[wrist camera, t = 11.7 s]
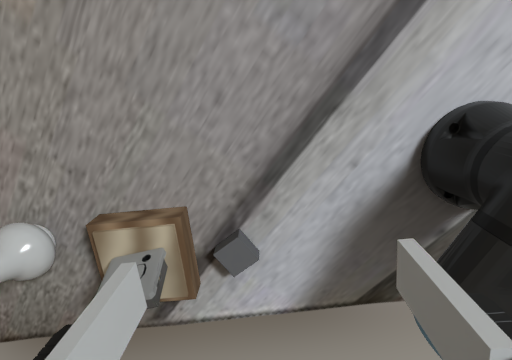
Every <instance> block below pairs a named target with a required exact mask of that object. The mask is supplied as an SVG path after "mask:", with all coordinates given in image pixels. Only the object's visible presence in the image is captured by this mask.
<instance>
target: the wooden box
mask: <svg viewBox="0 0 512 360" xmlns="http://www.w3.org/2000/svg"><path fill="white" fill-rule="evenodd" d="M86 228H87V231H88V234H89V238H90V241H91V245H92V248H93V252H94V255H95V259H96V262H97V266H98V269H99V273H100V276H101V280H103V278H104V276H105V274H106V271H107V269H108V267H109V265H110V262H111V260H112V259H114V258H116V257H120V256H124V255H129V254H134V253H138V252H143V251H148V250H152V249H157V248H164V250H165V251H166V256H165V258H164V259H165V262H166V264H167V266H168V268H167V272H166V276H165V281H164V285H163V289H162V293H161V297H160V301H159V302H163V301H176V300H190V299H196V297H197V293H198V290H199V287H200V284H201V283H200V277H199V272H198V266H197V261H196V255H195V250H194V244H193V239H192V233H191V228H190V222H189V217H188V211H187V207H176V208H165V209H154V210H142V211H131V212H120V213H109V214H99V215H98V216H97V217H96V218H94V219H93V220H92V221H91V222H89V223H88V224H87V225H86ZM160 275H161V273H160ZM159 280H160V277H159Z"/></svg>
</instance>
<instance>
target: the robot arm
mask: <svg viewBox="0 0 512 360" xmlns="http://www.w3.org/2000/svg"><path fill="white" fill-rule="evenodd" d="M421 168H422V173H423V177H424V179H425V181H426V183H427V185H428V186H429V188H430V189H431V190H432V191H433V192H434V193H435V194H436V195H438V196H439V197H441V198H442V199H444V200H445V201H447V202H449V203H451V204H453V205H456V206H459V207H463V208H468V209H476V210H478V211H477V212H476V214H475V215H474V216H473V217H472V218H471V219H470V221H469V222H468V223H467V224H466V226H465V227H464V228H463V229H462V231H461V232H460V233H459V234H458V236H457V237H456V238H455V240H454V241H453V242H452V243H451V245H450V246H449V247H448V248H447V250H446V251H445V252H444V253H443V254H442V256H441V257H440V258H439V259H438V261H437V262H436V261H435V260H434V259H433V258H432V257H431V256H430V255H429V254H428V253H427V252H426V251H425V250H424V249H423V248H422V247H421V246H420V245H419V244H418V243H417V241H416V240H415V239H414V238H410V239H399V240H397V280H396V288H397V290H398V291H399V293H400V294H401V296H402V297H403V299H404V300H405V302H406V303H407V305H408V306H409V308H410V310H411V311H412V313H413V315H414V318H415V320H416V323H417V325H418V327H419V329H420V330H421V332H422V334H423V335H424V337H425V338H426V340H427V341H428V343H429V344H430V345H431V347H432V348H433V349H434V350H435V352H436V353H437V354H438V355H439V356H440V358H441V359H442V360H512V104H509V103H504V102H495V101H478V102H472V103H469V104H466V105H463V106H461V107H458V108H456V109H455V110H453V111H451V112H450V113H448V114H447V115H446V116H444V117H443V118H442V119H441V120H440V121H439V122H438V123H437V124H436V125H435V127H434V128H433V129H432V131H431V132H430V134H429V135H428V137H427V139H426V141H425V144H424V147H423V151H422V156H421ZM146 308H147V304H146V300H145V296H144V292H143V288H142V284H141V280H140V277H139V273H138V269H137V265H136V262H131V263H121V264H120V266H119V267H118V268H117V269H116V271H115V272H114V273H113V275H112V276H111V277H110V278H109V280H108V281H107V282H106V283H105V285H104V286H103V287H102V288H101V290H100V291H99V292H98V293H97V295H96V296H95V297H94V298H93V300H92V301H91V302H90V303H89V305H88V306H87V307H86V309H85V310H84V311H83V312H82V314H81V315H80V316H79V317H78V319H77V320H76V321H75V322H74V324H72V325H66V326H64V327H63V328H62V329H61V330H59V331H58V332H57V333H55V334H54V335H53V336H52V338H51V339H50V340H49V341H48V343H47V344H46V345H45V347H44V348H42V350H41V351H40V352H39V353H38V356H36V357H35V358H34V359H33V360H120V358H121V356H122V354H123V352H124V350H125V349H126V346H127V345H128V343H129V341H130V339H131V337H132V335H133V333H134V331H135V329H136V328H137V326H138V324H139V322H140V320H141V318H142V316H143V314H144V312H145V310H146Z"/></svg>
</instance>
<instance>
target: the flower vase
mask: <svg viewBox="0 0 512 360" xmlns="http://www.w3.org/2000/svg"><path fill="white" fill-rule="evenodd" d="M55 248H56V242H55V238H54V236H53V235H52V233H51V232H50V231H49V230H48V229H46V228H45V227H43V226H40V225H37V224H29V223H22V222H15V223H11V224H7V225H5V226H3V227H1V228H0V283H2V282H4V281H7V280H16V281H26V280H31V279H35V278H37V277H39V276H41V275H43V274H45V273H46V272H47V271H48V270H49V269H50V268H51V267H52V265H53V262H54V260H55V254H56V251H55Z"/></svg>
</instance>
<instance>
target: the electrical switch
mask: <svg viewBox="0 0 512 360" xmlns="http://www.w3.org/2000/svg"><path fill="white" fill-rule="evenodd" d="M165 256H166V251H165V250H164V248H157V249H152V250H148V251H143V252H138V253H134V254H129V255H124V256H120V257H116V258H114V259H112V260H111V262H110V265H109V267H108V269H107V271H106V274H105V276H104V278H103V280H102V282H101V285H100V287H99V289H98V291H97V293H98V292H99V291H100V290H101V288H102V287H103V286H104V285H105V283H106V282H107V281H108V280H109V278H110V277H111V276H112V275H113V273H114V272H115V271H116V269H117V268H118V267H119V266H120V264H121V263H131V262H136V265H137V269H138V273H139V277H140V280H141V284H142V288H143V292H144V296H145V300H146V304H147V308H146V309H149V308H154V307H158V305H159V301H160V297H161V293H162V289H163V285H164V281H165V276H166V272H167V268H168V266H167V264H166V262H165V259H164V258H165ZM160 273H161V275H160ZM159 277H160V280H159ZM96 295H97V294H96ZM155 302H156V303H155Z"/></svg>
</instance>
